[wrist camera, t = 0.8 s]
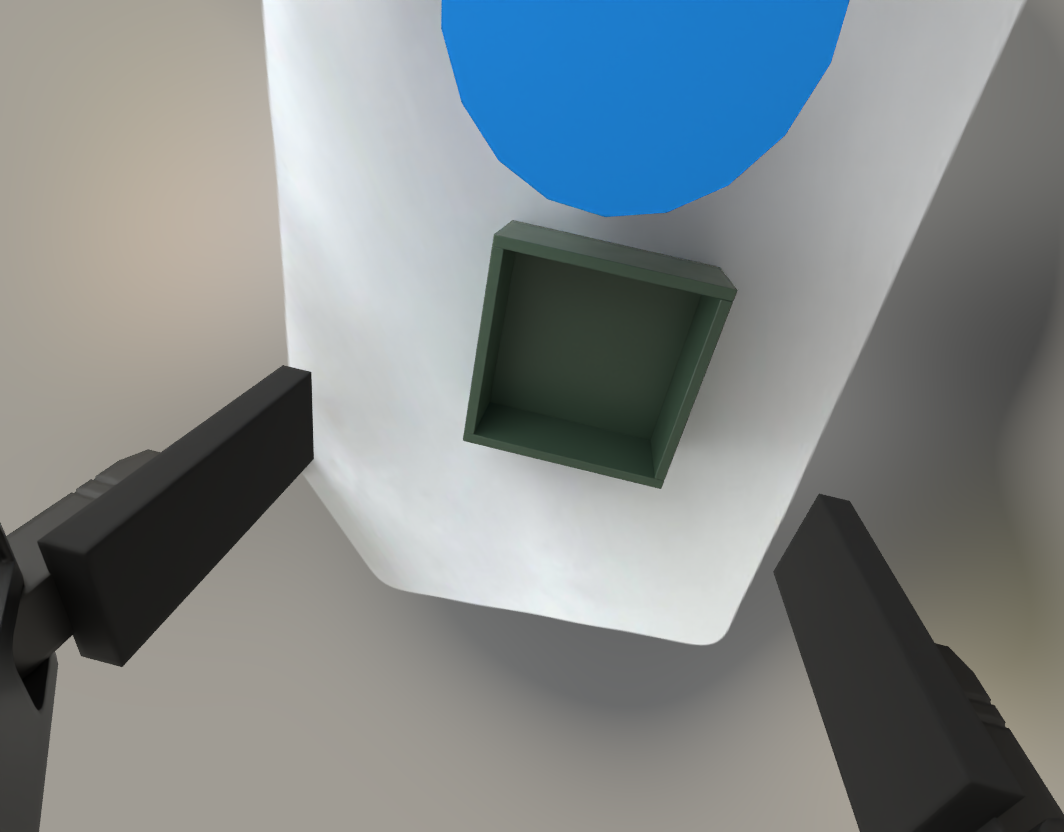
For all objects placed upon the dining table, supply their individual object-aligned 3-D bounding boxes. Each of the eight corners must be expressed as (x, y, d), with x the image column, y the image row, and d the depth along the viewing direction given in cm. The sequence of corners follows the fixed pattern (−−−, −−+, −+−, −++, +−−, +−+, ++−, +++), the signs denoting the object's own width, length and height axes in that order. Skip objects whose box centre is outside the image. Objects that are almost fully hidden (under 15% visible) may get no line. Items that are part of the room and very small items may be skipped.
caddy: (512, 220, 41) (493, 234, 35) (720, 267, 40) (737, 289, 34) (482, 403, 48) (462, 440, 42) (655, 445, 48) (661, 489, 42)
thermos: (687, 183, 38) (784, 245, 16) (538, 167, 39) (433, 204, 17) (728, -10, 33) (954, -314, 11) (555, -23, 33) (434, -330, 12)
